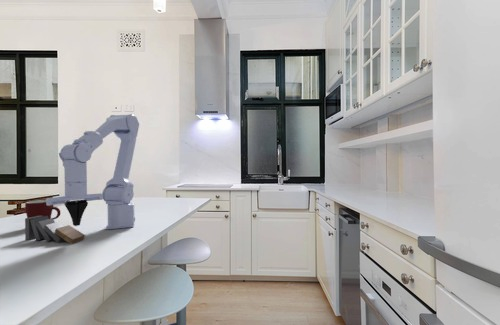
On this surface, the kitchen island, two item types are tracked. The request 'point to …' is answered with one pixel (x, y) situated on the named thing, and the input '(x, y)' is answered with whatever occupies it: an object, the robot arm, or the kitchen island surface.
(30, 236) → the domino
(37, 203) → the mug
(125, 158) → the robot arm
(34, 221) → the domino
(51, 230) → the domino
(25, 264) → the kitchen island surface
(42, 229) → the domino
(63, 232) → the domino
